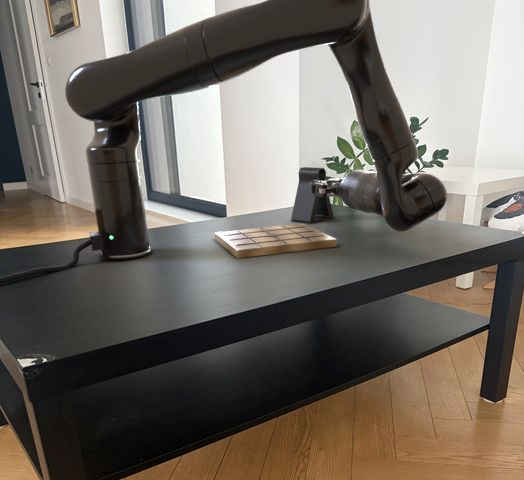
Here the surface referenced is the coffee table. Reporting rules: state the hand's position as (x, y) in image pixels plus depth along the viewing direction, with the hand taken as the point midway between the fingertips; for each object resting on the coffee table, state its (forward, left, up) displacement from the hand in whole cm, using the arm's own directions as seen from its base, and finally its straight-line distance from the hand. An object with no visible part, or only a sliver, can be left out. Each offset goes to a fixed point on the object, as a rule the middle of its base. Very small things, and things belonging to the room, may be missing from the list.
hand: (332, 183), depth 120 cm
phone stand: (0, +11, -10) cm, 15 cm away
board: (-17, -9, -9) cm, 22 cm away
